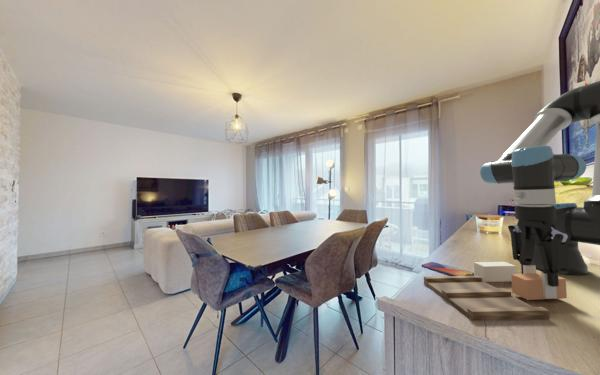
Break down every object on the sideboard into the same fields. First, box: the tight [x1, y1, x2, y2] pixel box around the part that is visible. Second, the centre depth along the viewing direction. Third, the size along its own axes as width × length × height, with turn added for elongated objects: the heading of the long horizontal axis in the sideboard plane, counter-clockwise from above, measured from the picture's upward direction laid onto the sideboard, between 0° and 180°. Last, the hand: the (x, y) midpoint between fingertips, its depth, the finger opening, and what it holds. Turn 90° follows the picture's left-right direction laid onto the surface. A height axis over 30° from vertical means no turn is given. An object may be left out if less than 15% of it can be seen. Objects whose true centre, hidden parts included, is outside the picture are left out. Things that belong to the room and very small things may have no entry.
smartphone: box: [421, 261, 475, 276], centre depth 79 cm, size 7×15×1 cm, turn 26°
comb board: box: [423, 275, 551, 322], centre depth 59 cm, size 17×20×2 cm
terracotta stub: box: [511, 272, 568, 301], centre depth 58 cm, size 10×4×5 cm, turn 89°
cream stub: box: [473, 261, 517, 283], centre depth 71 cm, size 10×4×5 cm, turn 89°
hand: (539, 292), depth 58 cm, fingers closed on terracotta stub, 4 cm apart
